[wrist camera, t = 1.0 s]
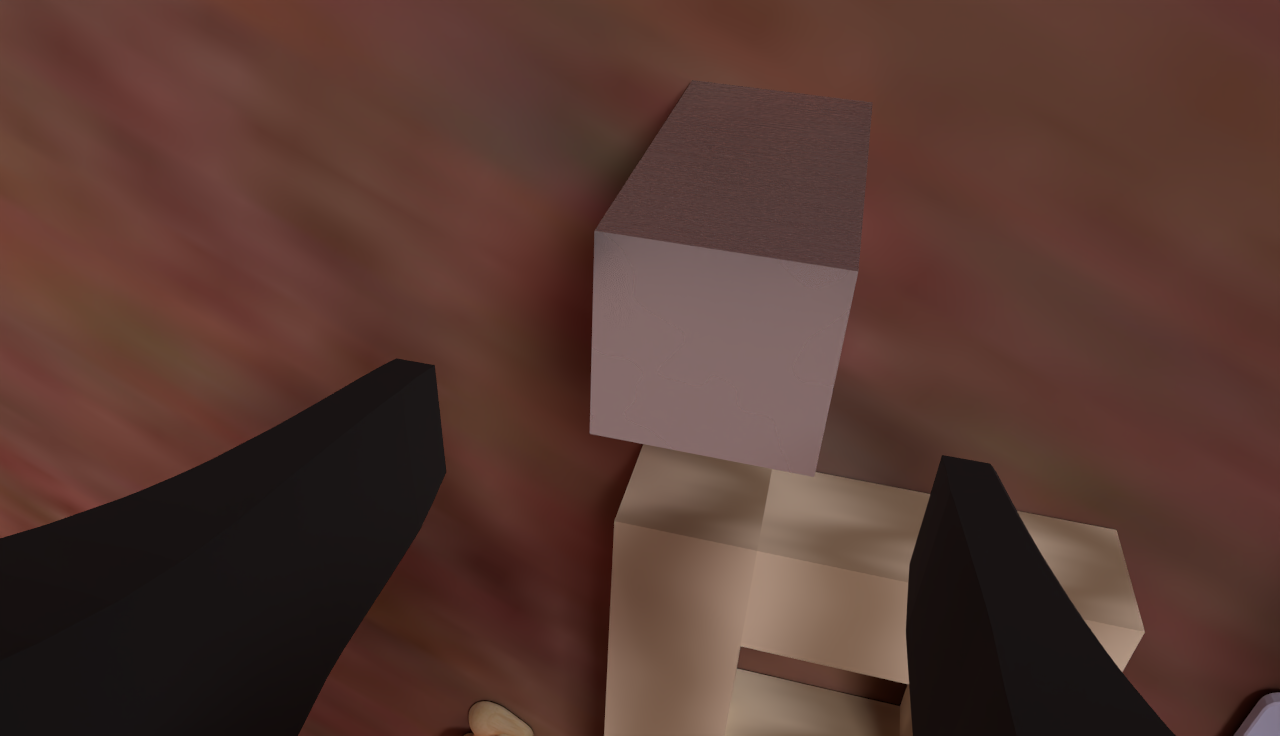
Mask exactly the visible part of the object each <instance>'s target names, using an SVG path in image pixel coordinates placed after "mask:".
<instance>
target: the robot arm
mask: <svg viewBox="0 0 1280 736" xmlns="http://www.w3.org/2000/svg"><path fill="white" fill-rule="evenodd" d="M445 474H446V465H445V456H444V447H443V438H442V428H441V419H440V410H439V401H438V391H437V382H436V373H435V365H430V364H424V363H419V362H413V361H407V360H402V359H394V360H392V361H390V362H388V363H387V364H385V365H383V366H381V367H379V368H377V369H375V370H373V371H372V372H370V373H368V374H366V375H365V376H363V377H361V378H359V379H358V380H356V381H354V382H352V383H351V384H349V385H347V386H346V387H344V388H342V389H340V390H339V391H337V392H335V393H334V394H332V395H330V396H328V397H327V398H325V399H323V400H321V401H320V402H318V403H316V404H314V405H313V406H311V407H309V408H307V409H306V410H304V411H302V412H300V413H299V414H297V415H295V416H293V417H292V418H290V419H288V420H286V421H284V422H283V423H281V424H279V425H277V426H276V427H274V428H272V429H270V430H268V431H266V432H264V433H262V434H260V435H258V436H256V437H254V438H252V439H250V440H248V441H247V442H245V443H243V444H241V445H239V446H237V447H235V448H233V449H231V450H229V451H227V452H225V453H223V454H221V455H219V456H218V457H216V458H214V459H212V460H210V461H207V462H205V463H203V464H201V465H199V466H197V467H195V468H192V469H190V470H188V471H186V472H184V473H181V474H179V475H177V476H175V477H172V478H170V479H168V480H165V481H163V482H160V483H158V484H156V485H153V486H151V487H149V488H146V489H144V490H141V491H139V492H137V493H134V494H131V495H129V496H126V497H124V498H121V499H118V500H115V501H113V502H110V503H107V504H104V505H101V506H98V507H96V508H93V509H90V510H87V511H84V512H81V513H79V514H76V515H73V516H70V517H67V518H64V519H61V520H59V521H56V522H53V523H50V524H47V525H44V526H41V527H37V528H34V529H31V530H27V531H24V532H21V533H17V534H14V535H11V536H7V537H4V538H0V736H298V734H299V732H300V730H301V728H302V726H303V724H304V722H305V720H306V718H307V716H308V714H309V712H310V710H311V708H312V706H313V704H314V702H315V700H316V699H317V697H318V695H319V693H320V691H321V689H322V687H323V685H324V683H325V681H326V679H327V677H328V675H329V673H330V672H331V670H332V668H333V667H334V665H335V663H336V661H337V660H338V658H339V656H340V655H341V653H342V651H343V650H344V648H345V646H346V645H347V643H348V642H349V640H350V639H351V637H352V636H353V634H354V632H355V631H356V629H357V628H358V626H359V625H360V623H361V622H362V620H363V618H364V617H365V615H366V614H367V612H368V611H369V609H370V608H371V606H372V604H373V603H374V601H375V600H376V598H377V597H378V595H379V594H380V592H381V590H382V589H383V587H384V586H385V584H386V583H387V581H388V580H389V578H390V576H391V575H392V573H393V572H394V570H395V569H396V567H397V565H398V564H399V562H400V561H401V559H402V558H403V556H404V554H405V553H406V551H407V550H408V548H409V546H410V545H411V543H412V542H413V540H414V538H415V537H416V535H417V533H418V532H419V530H420V528H421V526H422V524H423V522H424V520H425V518H426V516H427V514H428V512H429V510H430V507H431V505H432V503H433V501H434V499H435V496H436V494H437V492H438V490H439V487H440V485H441V483H442V480H443V478H444V476H445ZM906 645H907V660H908V675H909V690H910V704H911V718H912V732H913V736H1175V735H1174V734H1173V732H1172V731H1171V730H1170V729H1169V728H1168V727H1167V726H1166V725H1165V723H1164V722H1163V721H1162V720H1161V719H1160V718H1159V717H1158V715H1157V714H1156V713H1155V712H1154V711H1153V709H1152V708H1151V707H1150V706H1149V705H1148V703H1147V702H1146V701H1145V700H1144V699H1143V697H1142V696H1141V695H1140V694H1139V693H1138V691H1137V690H1136V689H1135V688H1134V687H1133V685H1132V684H1131V683H1130V682H1129V680H1128V679H1127V678H1126V677H1125V675H1124V674H1123V673H1122V672H1121V670H1120V669H1119V668H1118V666H1117V665H1116V664H1115V662H1114V661H1113V660H1112V658H1111V657H1110V656H1109V654H1108V653H1107V652H1106V650H1105V649H1104V647H1103V646H1102V645H1101V643H1100V642H1099V640H1098V639H1097V638H1096V636H1095V635H1094V633H1093V632H1092V631H1091V629H1090V628H1089V626H1088V625H1087V624H1086V622H1085V621H1084V619H1083V618H1082V616H1081V615H1080V613H1079V612H1078V610H1077V609H1076V607H1075V606H1074V604H1073V603H1072V601H1071V600H1070V598H1069V597H1068V595H1067V594H1066V592H1065V591H1064V589H1063V587H1062V586H1061V584H1060V583H1059V581H1058V580H1057V578H1056V576H1055V575H1054V573H1053V572H1052V570H1051V568H1050V567H1049V565H1048V564H1047V562H1046V560H1045V559H1044V557H1043V556H1042V554H1041V552H1040V551H1039V549H1038V547H1037V545H1036V544H1035V542H1034V540H1033V539H1032V537H1031V535H1030V533H1029V532H1028V530H1027V528H1026V526H1025V525H1024V523H1023V521H1022V519H1021V518H1020V516H1019V514H1018V512H1017V510H1016V508H1015V507H1014V505H1013V503H1012V501H1011V499H1010V497H1009V495H1008V494H1007V492H1006V490H1005V488H1004V486H1003V484H1002V482H1001V480H1000V478H999V476H998V475H997V473H996V471H995V470H994V468H993V467H992V466H991V464H989V463H983V462H978V461H972V460H966V459H961V458H955V457H949V456H944V455H942V458H941V461H940V464H939V468H938V471H937V474H936V478H935V481H934V484H933V487H932V491H931V494H930V497H929V501H928V504H927V507H926V511H925V514H924V517H923V521H922V524H921V527H920V531H919V534H918V537H917V540H916V544H915V547H914V550H913V554H912V557H911V560H910V564H909V580H908V596H907V615H906ZM1234 736H1280V692H1276V693H1270V694H1267V695H1265V696H1263V697H1262V698H1261V699H1260V700H1259V701H1258V703H1257V704H1256V705H1255V707H1254V708H1253V710H1252V711H1251V712H1250V714H1249V715H1248V716H1247V718H1246V719H1245V721H1244V722H1243V723H1242V725H1241V726H1240V727H1239V729H1238V730H1237V732H1236V733H1235V734H1234Z"/></svg>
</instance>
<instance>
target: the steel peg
mask: <svg viewBox="0 0 1280 736" xmlns="http://www.w3.org/2000/svg"><path fill="white" fill-rule="evenodd" d="M871 115H872V102H864V101H856V100H848V99H840V98H832V97H823V96H815V95H807V94H799V93H791V92H783V91H775V90H767V89H759V88H751V87H743V86H735V85H726V84H718V83H710V82H702V81H694V80H692V81H691V83H690V84H689V86H688V88H687V89H686V91H685V92H684V94H683V95H682V97H681V98H680V100H679V101H678V103H677V104H676V106H675V108H674V109H673V111H672V112H671V114H670V115H669V117H668V118H667V120H666V121H665V123H664V124H663V126H662V128H661V129H660V131H659V132H658V134H657V135H656V137H655V138H654V140H653V141H652V143H651V144H650V146H649V148H648V149H647V151H646V152H645V154H644V155H643V157H642V158H641V160H640V161H639V163H638V164H637V166H636V168H635V169H634V171H633V172H632V174H631V175H630V177H629V178H628V180H627V181H626V183H625V185H624V186H623V188H622V189H621V191H620V192H619V194H618V195H617V197H616V198H615V200H614V201H613V203H612V205H611V206H610V208H609V209H608V211H607V212H606V214H605V215H604V217H603V218H602V220H601V221H600V223H599V225H598V226H597V228H596V229H595V231H594V274H593V316H592V358H591V400H590V434H594V435H599V436H604V437H609V438H614V439H620V440H625V441H630V442H635V443H640V444H645V445H651V446H656V447H661V448H666V449H671V450H676V451H682V452H687V453H692V454H697V455H702V456H708V457H713V458H718V459H723V460H728V461H733V462H739V463H744V464H749V465H754V466H759V467H764V468H770V469H775V470H780V471H785V472H790V473H795V474H801V475H806V476H811V477H814V476H815V471H816V467H817V462H818V457H819V453H820V448H821V443H822V439H823V434H824V429H825V425H826V420H827V415H828V410H829V406H830V401H831V396H832V392H833V387H834V382H835V378H836V373H837V368H838V364H839V359H840V354H841V350H842V345H843V340H844V336H845V331H846V326H847V322H848V317H849V312H850V308H851V303H852V298H853V294H854V289H855V284H856V280H857V275H858V268H859V257H860V245H861V233H862V221H863V209H864V197H865V186H866V174H867V162H868V150H869V138H870V127H871Z"/></svg>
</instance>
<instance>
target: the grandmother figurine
mask: <svg viewBox="0 0 1280 736" xmlns="http://www.w3.org/2000/svg"><path fill="white" fill-rule="evenodd" d="M469 725H470V728H471V730H472V732H473V733H468V734H465V735H464V736H533V731H532V729H531V728H530V727H529V726H528V725H527V724H526V723H524V722H523V721H522V720H520V719H519V718H518V717H516V716H515V715H513V714H512V713H511V712H510V711H508V710H507V709H505V708H504V707H502V706H500V705H498V704H495V703H492V702H489V701H482V702H477V703H476V704H474V705H473V706H472V707H471V708H470V711H469Z"/></svg>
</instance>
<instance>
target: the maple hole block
mask: <svg viewBox="0 0 1280 736" xmlns="http://www.w3.org/2000/svg"><path fill="white" fill-rule="evenodd" d="M929 497H930V494H927V493H922V492H916V491H911V490H906V489H901V488H896V487H890V486H885V485H880V484H875V483H870V482H864V481H859V480H854V479H849V478H844V477H839V476H833V475H828V474H823V473H818V472H815V476H814V477H811V476H806V475H801V474H795V473H790V472H785V471H780V470H775V469H770V468H764V467H759V466H754V465H749V464H744V463H739V462H733V461H728V460H723V459H718V458H713V457H708V456H702V455H697V454H692V453H687V452H682V451H676V450H671V449H666V448H661V447H656V446H651V445H645V444H643V446H642V449H641V452H640V454H639V457H638V459H637V462H636V465H635V467H634V470H633V473H632V475H631V478H630V481H629V483H628V486H627V489H626V491H625V494H624V497H623V499H622V502H621V504H620V507H619V510H618V512H617V515H616V518H615V520H614V537H613V558H612V579H611V601H610V622H609V643H608V664H607V686H606V707H605V728H604V736H913V732H912V718H911V704H910V690H909V675H908V660H907V645H906V615H907V596H908V580H909V564H910V560H911V557H912V554H913V550H914V547H915V544H916V540H917V537H918V534H919V531H920V527H921V524H922V521H923V517H924V514H925V511H926V507H927V504H928V501H929ZM1017 512H1018V514H1019V516H1020V518H1021V519H1022V521H1023V523H1024V525H1025V526H1026V528H1027V530H1028V532H1029V533H1030V535H1031V537H1032V539H1033V540H1034V542H1035V544H1036V545H1037V547H1038V549H1039V551H1040V552H1041V554H1042V556H1043V557H1044V559H1045V560H1046V562H1047V564H1048V565H1049V567H1050V568H1051V570H1052V572H1053V573H1054V575H1055V576H1056V578H1057V580H1058V581H1059V583H1060V584H1061V586H1062V587H1063V589H1064V591H1065V592H1066V594H1067V595H1068V597H1069V598H1070V600H1071V601H1072V603H1073V604H1074V606H1075V607H1076V609H1077V610H1078V612H1079V613H1080V615H1081V616H1082V618H1083V619H1084V621H1085V622H1086V624H1087V625H1088V626H1089V628H1090V629H1091V631H1092V632H1093V633H1094V635H1095V636H1096V638H1097V639H1098V640H1099V642H1100V643H1101V645H1102V646H1103V647H1104V649H1105V650H1106V652H1107V653H1108V654H1109V656H1110V657H1111V658H1112V660H1113V661H1114V662H1115V664H1116V665H1117V666H1118V668H1119V669H1120V670H1121V672H1122V671H1123V670H1124V668H1125V666H1126V664H1127V663H1128V661H1129V659H1130V657H1131V656H1132V654H1133V652H1134V650H1135V649H1136V647H1137V645H1138V643H1139V641H1140V640H1141V638H1142V636H1143V634H1144V633H1145V631H1144V627H1143V624H1142V620H1141V616H1140V613H1139V609H1138V606H1137V602H1136V598H1135V595H1134V591H1133V588H1132V584H1131V580H1130V577H1129V573H1128V570H1127V566H1126V562H1125V559H1124V555H1123V552H1122V548H1121V544H1120V541H1119V537H1118V534H1117V530H1114V529H1108V528H1103V527H1098V526H1093V525H1088V524H1082V523H1077V522H1072V521H1067V520H1062V519H1057V518H1051V517H1046V516H1041V515H1036V514H1031V513H1025V512H1020V511H1017ZM741 646H742V647H746V648H751V649H755V650H759V651H764V652H768V653H773V654H777V655H781V656H786V657H790V658H795V659H799V660H803V661H808V662H812V663H817V664H821V665H825V666H830V667H834V668H839V669H843V670H847V671H852V672H856V673H860V674H865V675H869V676H874V677H878V678H882V679H887V680H891V681H896V682H900V683H904V684H908V685H907V688H906V690H905V693H904V696H903V699H902V702H901V704H900V706H897V705H892V704H888V703H884V702H879V701H875V700H871V699H867V698H862V697H858V696H854V695H849V694H845V693H841V692H836V691H832V690H828V689H823V688H819V687H815V686H810V685H806V684H802V683H798V682H793V681H789V680H785V679H780V678H776V677H772V676H767V675H763V674H759V673H754V672H750V671H746V670H741V669H737V664H738V659H739V653H740V648H741Z"/></svg>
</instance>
